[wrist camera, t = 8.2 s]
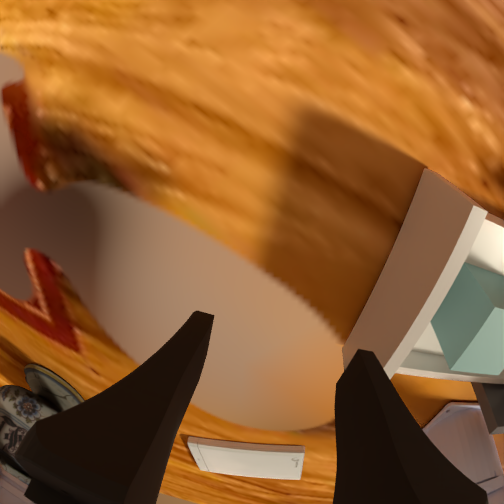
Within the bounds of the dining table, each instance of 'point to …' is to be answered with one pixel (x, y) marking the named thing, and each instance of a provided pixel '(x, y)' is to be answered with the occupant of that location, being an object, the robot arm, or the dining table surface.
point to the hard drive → (247, 458)
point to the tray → (426, 280)
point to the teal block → (472, 322)
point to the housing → (491, 405)
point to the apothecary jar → (30, 411)
